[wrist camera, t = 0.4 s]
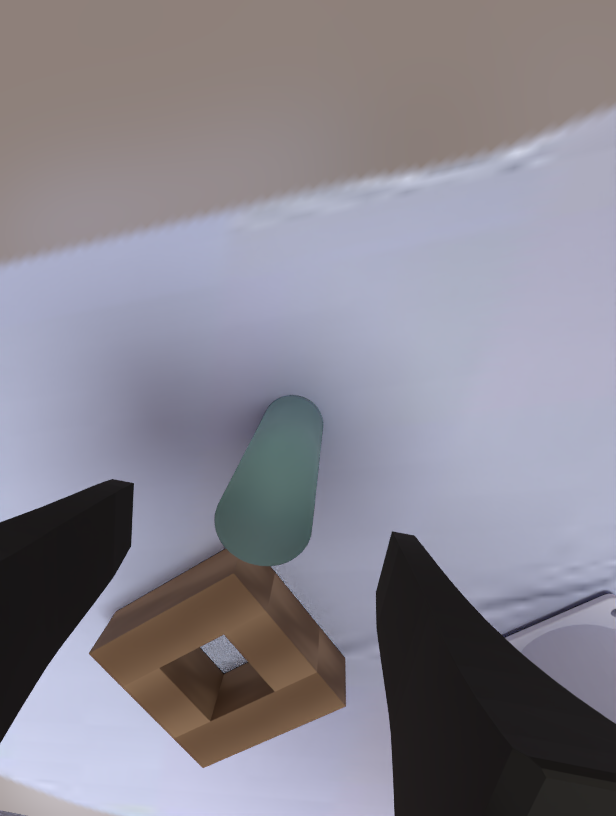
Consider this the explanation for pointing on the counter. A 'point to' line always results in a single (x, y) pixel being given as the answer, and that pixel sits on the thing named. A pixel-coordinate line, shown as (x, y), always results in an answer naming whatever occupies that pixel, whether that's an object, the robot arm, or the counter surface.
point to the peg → (274, 486)
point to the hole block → (202, 680)
